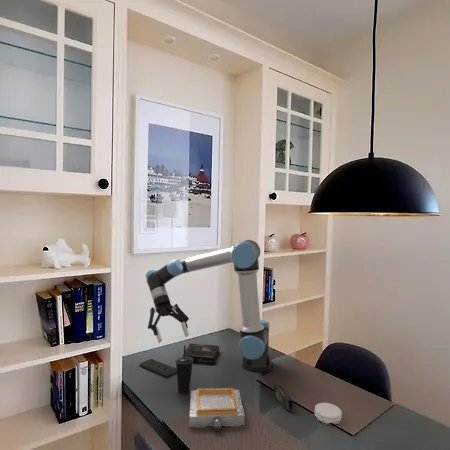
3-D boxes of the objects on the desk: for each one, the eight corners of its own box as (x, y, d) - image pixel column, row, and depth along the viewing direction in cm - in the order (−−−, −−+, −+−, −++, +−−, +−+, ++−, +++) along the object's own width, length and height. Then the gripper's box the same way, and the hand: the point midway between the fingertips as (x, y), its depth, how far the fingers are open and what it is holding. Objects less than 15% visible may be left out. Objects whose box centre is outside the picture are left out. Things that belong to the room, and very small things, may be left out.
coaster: (347, 421, 130) (347, 412, 130) (328, 429, 125) (328, 419, 125) (327, 408, 139) (327, 399, 138) (309, 414, 134) (309, 406, 133)
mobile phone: (272, 384, 147) (289, 402, 133) (278, 383, 148) (296, 401, 134) (272, 395, 147) (289, 414, 133) (278, 394, 148) (296, 413, 134)
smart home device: (166, 376, 159) (138, 363, 170) (166, 379, 159) (138, 367, 171) (179, 369, 165) (151, 358, 177) (179, 373, 165) (151, 361, 177)
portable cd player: (219, 352, 191) (219, 345, 191) (213, 365, 174) (213, 358, 174) (190, 349, 193) (190, 342, 193) (182, 363, 176) (182, 355, 176)
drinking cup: (189, 397, 144) (190, 350, 143) (172, 394, 145) (173, 348, 144) (194, 387, 151) (195, 343, 150) (178, 385, 153) (179, 341, 152)
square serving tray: (238, 399, 143) (238, 386, 143) (245, 431, 122) (245, 416, 122) (190, 399, 141) (190, 386, 141) (189, 432, 120) (189, 417, 120)
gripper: (180, 299, 177) (194, 337, 165) (133, 305, 162) (145, 347, 151) (186, 291, 172) (200, 329, 161) (138, 297, 157) (150, 340, 146)
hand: (174, 338), depth 155 cm, fingers open, 13 cm apart
